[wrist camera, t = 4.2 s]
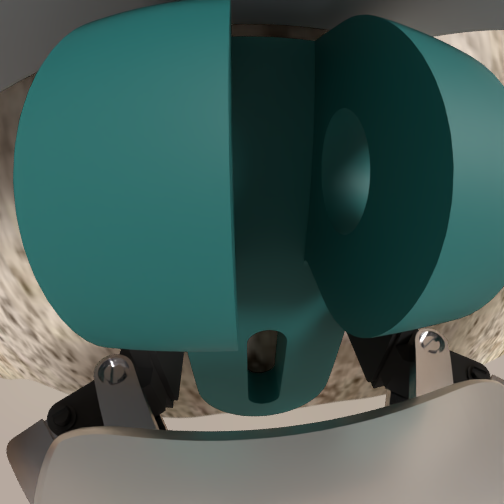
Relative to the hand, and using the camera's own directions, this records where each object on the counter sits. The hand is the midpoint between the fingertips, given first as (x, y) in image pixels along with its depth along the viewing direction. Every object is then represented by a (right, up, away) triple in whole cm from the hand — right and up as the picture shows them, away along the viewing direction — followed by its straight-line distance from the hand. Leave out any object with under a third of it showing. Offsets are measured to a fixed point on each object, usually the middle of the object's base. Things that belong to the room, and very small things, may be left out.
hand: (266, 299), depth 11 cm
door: (-6, +10, -5) cm, 12 cm away
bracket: (0, +1, +1) cm, 2 cm away
